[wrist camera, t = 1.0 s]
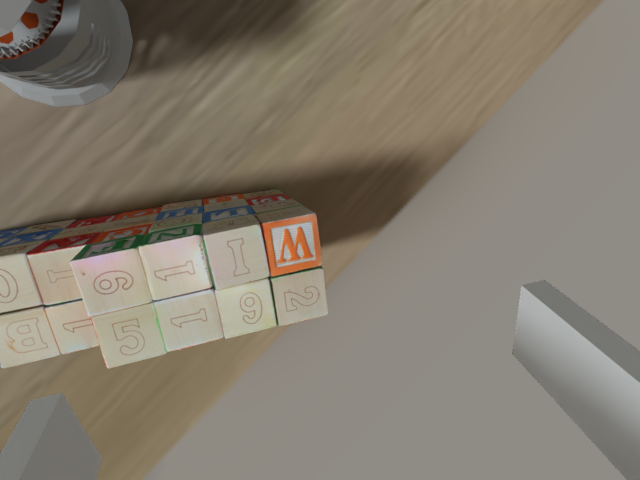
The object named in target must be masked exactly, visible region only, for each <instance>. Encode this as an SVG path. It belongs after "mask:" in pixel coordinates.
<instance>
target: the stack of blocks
mask: <svg viewBox="0 0 640 480" xmlns="http://www.w3.org/2000/svg"><path fill="white" fill-rule="evenodd" d="M321 265H322V254H321V246H320V238H319V230H318V222H317V216H316V214H315V213H314V212H313V211H311V210H309V209H308V208H306V207H304V206H303V205H302V204H300V202H297V201H296V200H294V199H291V198H290V197H288V196H286V195H284V193H283V192H281V191H279V190H277V189H273V190H267V191H260V192H253V193H246V194H233V195H226V196H220V197H213V198H206V199H200V200H192V201H185V202H179V203H172V204H166V205H163V206H162V207H155V208H150V209H143V210H137V211H130V212H124V213H121V214H117V215H109V216H103V217H97V218H90V219H84V220H79V221H77V220H76V219H73V220H66V221H60V222H53V223H47V224H40V225H34V226H30V227H25V228H18V229H11V230H5V231H0V367H1V368H8V367H12V366H16V365H21V364H25V363H29V362H33V361H37V360H41V359H45V358H50V357H54V356H58V355H60V354H69V353H72V352H77V351H81V350H85V349H89V348H92V347H96V346H100V348H101V352H102V355H103V359H104V362H105V365H106V368H108V369H109V368H113V367H117V366H121V365H125V364H129V363H133V362H136V361H139V360H144V359H148V358H152V357H156V356H160V355H164V354H166V353H167V352H170V351H175V350H180V349H184V348H187V347H191V346H195V345H198V344H202V343H207V342H211V341H215V340H218V339H221V338H226V339H227V338H231V337H236V336H240V335H244V334H248V333H252V332H256V331H260V330H264V329H268V328H272V327H275V326H277V325H280V326H284V325H288V324H292V323H296V322H301V321H305V320H309V319H313V318H317V317H322V316H325V315H327V314H328V306H327V297H326V288H325V278H324V270H323V268H322V267H321Z"/></svg>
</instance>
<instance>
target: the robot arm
mask: <svg viewBox="0 0 640 480" xmlns="http://www.w3.org/2000/svg"><path fill="white" fill-rule="evenodd" d="M512 354H513V355H514V356H515V357H516V358H517V359H518V361H519V362H520V363H521V364H522V365H523V366H524V367H525V368H526V369H527V371H528V372H529V373H530V374H531V375H532V376H533V377H534V378H535V379H536V380H537V382H538V383H540V385H541V386H542V387H543V388H544V389H545V390H546V391H547V393H548V394H549V395H550V396H551V397H552V398H553V399H554V400H555V401H556V402H557V404H558V405H559V406H560V407H561V408H562V409H563V410H564V411H565V412H566V413H567V415H568V416H569V417H570V418H571V419H572V420H573V421H574V422H575V423H576V424H577V426H578V427H579V428H580V429H581V430H582V431H583V432H584V433H585V434H586V435H587V437H588V438H589V439H590V440H591V441H592V442H593V443H594V444H595V445H596V446H597V447H598V449H599V450H600V451H601V452H602V453H603V454H604V455H605V456H606V457H607V458H608V460H609V461H610V462H611V463H612V464H613V465H614V466H615V467H616V468H617V469H618V471H619V472H620V473H621V474H622V475H623V476H624V477H625V478H626V479H627V480H640V351H639V350H638V349H636V348H635V347H634V346H632V345H631V344H630V343H628V342H627V341H626V340H624V339H623V338H622V337H620V336H619V335H618V334H616V333H615V332H614V331H612V330H611V329H610V328H608V327H607V326H606V325H604V324H603V323H602V322H600V321H599V320H598V319H596V318H595V317H593V316H592V315H591V314H590V313H588V312H587V311H586V310H584V309H583V308H582V307H580V306H579V305H577V304H576V303H575V302H574V301H572V300H571V299H570V298H568V297H567V296H566V295H564V294H563V293H561V292H560V291H559V290H558V289H556V288H555V287H553V286H552V285H551V284H549V283H548V282H547V281H545V280H542V281H539V282H534V283H530V284H526V285H522V287H521V293H520V301H519V308H518V315H517V322H516V330H515V337H514V345H513V352H512ZM101 461H102V457H101V455H100V454H99V452H98V451H97V449H96V447H95V446H94V444H93V442H92V441H91V439H90V438H89V436H88V434H87V433H86V431H85V429H84V428H83V426H82V425H81V423H80V421H79V420H78V418H77V416H76V415H75V413H74V412H73V410H72V408H71V407H70V405H69V403H68V402H67V400H66V399H65V397H64V395H63V394H62V393H59V394H55V395H51V396H47V397H42V398H38V399H34V400H31V401H30V402H29V404H28V406H27V408H26V409H25V411H24V413H23V415H22V416H21V418H20V420H19V422H18V423H17V425H16V427H15V429H14V430H13V432H12V434H11V436H10V437H9V439H8V441H7V443H6V444H5V446H4V448H3V450H2V451H1V453H0V480H96V477H97V474H98V471H99V468H100V465H101Z"/></svg>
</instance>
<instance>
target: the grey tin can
mask: <svg viewBox="0 0 640 480" xmlns="http://www.w3.org/2000/svg"><path fill="white" fill-rule="evenodd" d="M132 45H133V38H132V33H131V28H130V23H129V18H128V14H127V10H126V8H125V7H124V5H123V3H122V2H121V0H0V82H1V83H3V84H4V85H6V86H7V87H9V88H10V89H11V90H13V91H14V92H16V93H17V94H19V95H20V96H22V97H24V98H27V99H31V100H34V101H38V102H41V103H45V104H48V105H51V106H55V107H57V106H71V105H86V104H88V103H90V102H92V101H94V100H96V99H98V98H100V97H102V96H104V95H106V94H108V93H109V92H111V91H112V90H113V89H114V87H115V86H116V85H117V83H118V82H119V81H120V79H121V78H122V77H123V75H124V74H125V73H126V71H127V70H128V65H129V60H130V55H131V50H132Z"/></svg>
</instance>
